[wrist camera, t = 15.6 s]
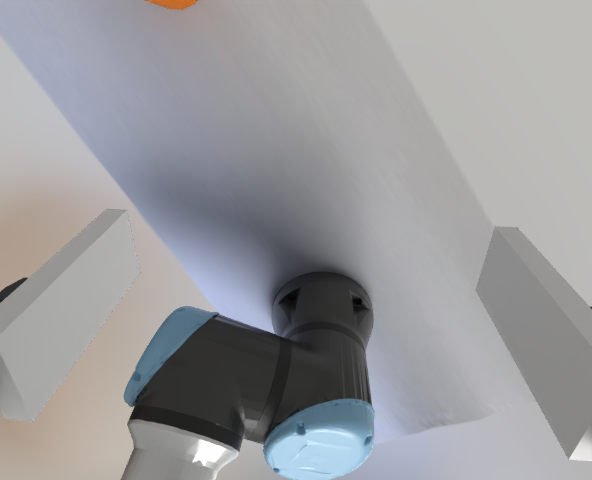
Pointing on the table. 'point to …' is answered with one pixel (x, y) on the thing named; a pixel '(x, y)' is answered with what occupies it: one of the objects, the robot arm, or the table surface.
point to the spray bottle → (173, 3)
